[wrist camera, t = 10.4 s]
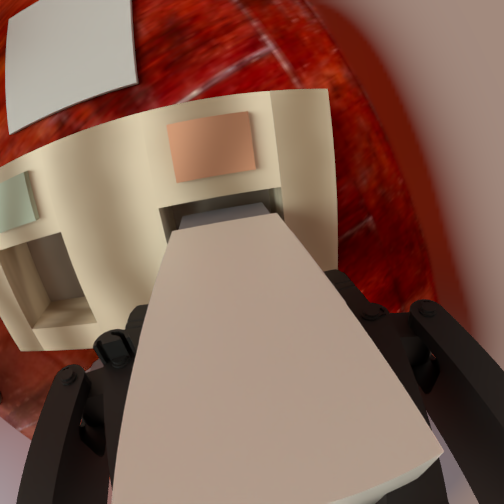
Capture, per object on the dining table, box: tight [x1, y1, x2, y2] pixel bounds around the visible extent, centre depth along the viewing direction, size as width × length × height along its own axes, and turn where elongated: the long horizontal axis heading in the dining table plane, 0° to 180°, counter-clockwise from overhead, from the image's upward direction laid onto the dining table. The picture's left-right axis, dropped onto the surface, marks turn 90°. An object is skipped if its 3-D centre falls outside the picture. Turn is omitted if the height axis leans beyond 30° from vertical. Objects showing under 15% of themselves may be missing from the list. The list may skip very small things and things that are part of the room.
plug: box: [112, 202, 444, 504], centre depth 10 cm, size 5×5×15 cm
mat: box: [5, 0, 138, 135], centre depth 13 cm, size 12×12×1 cm
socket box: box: [0, 89, 338, 351], centre depth 17 cm, size 26×14×6 cm, turn 97°
